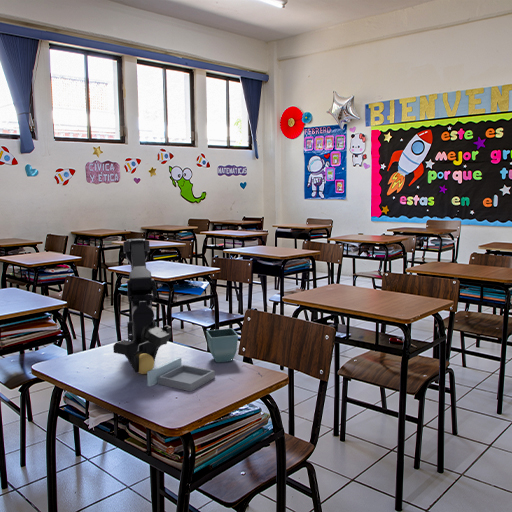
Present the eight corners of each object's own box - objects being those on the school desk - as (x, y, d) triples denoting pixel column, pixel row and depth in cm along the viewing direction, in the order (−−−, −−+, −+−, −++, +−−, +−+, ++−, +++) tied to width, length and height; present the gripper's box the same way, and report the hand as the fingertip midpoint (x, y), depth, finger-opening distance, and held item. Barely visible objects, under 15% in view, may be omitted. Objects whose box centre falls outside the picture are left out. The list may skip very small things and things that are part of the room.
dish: (158, 384, 138) (157, 376, 138) (183, 371, 148) (183, 364, 148) (191, 391, 133) (190, 383, 132) (214, 377, 143) (214, 370, 142)
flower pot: (211, 365, 153) (210, 337, 152) (206, 357, 161) (205, 330, 160) (239, 362, 155) (238, 335, 154) (232, 354, 164) (232, 328, 163)
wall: (147, 385, 137) (147, 371, 137) (179, 370, 149) (178, 357, 149) (150, 386, 137) (149, 372, 136) (181, 370, 149) (181, 357, 148)
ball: (129, 375, 146) (128, 355, 145) (143, 368, 151) (142, 349, 150) (145, 378, 143) (144, 358, 142) (158, 371, 148) (158, 352, 147)
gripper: (140, 328, 133) (143, 384, 135) (183, 314, 149) (185, 363, 151) (110, 323, 138) (113, 377, 140) (155, 310, 154) (157, 358, 156)
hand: (144, 369), depth 147 cm, fingers closed on ball, 6 cm apart
